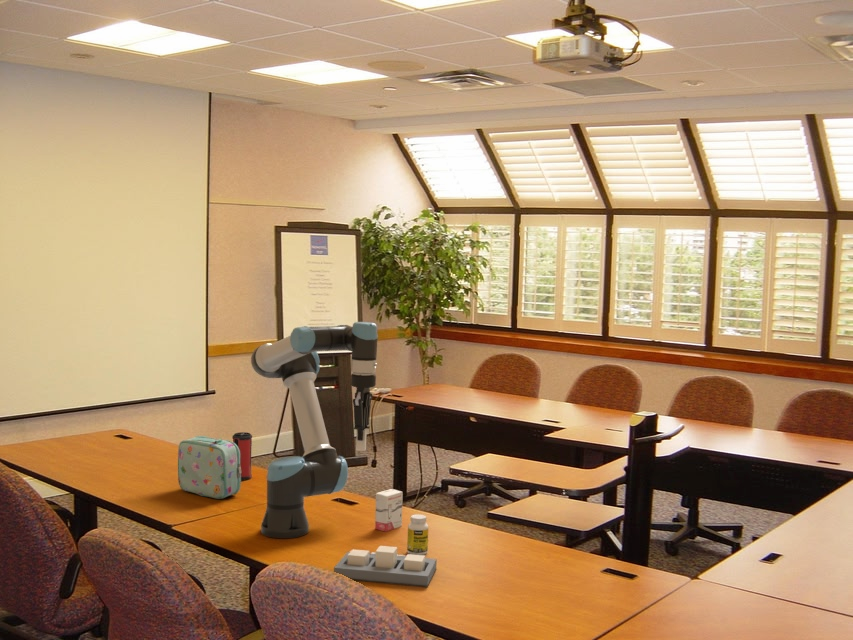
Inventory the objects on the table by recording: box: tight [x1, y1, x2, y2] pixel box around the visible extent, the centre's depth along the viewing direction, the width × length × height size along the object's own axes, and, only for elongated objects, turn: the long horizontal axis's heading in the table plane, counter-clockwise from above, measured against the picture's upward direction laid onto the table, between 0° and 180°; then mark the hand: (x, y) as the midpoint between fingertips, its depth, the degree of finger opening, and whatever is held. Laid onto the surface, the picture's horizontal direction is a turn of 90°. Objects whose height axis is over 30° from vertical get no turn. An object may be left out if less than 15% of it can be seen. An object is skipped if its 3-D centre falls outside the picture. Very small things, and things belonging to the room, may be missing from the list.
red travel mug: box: [231, 431, 253, 481], centre depth 340 cm, size 8×8×18 cm
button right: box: [404, 553, 426, 571], centre depth 236 cm, size 5×5×4 cm
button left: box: [347, 548, 370, 566], centre depth 239 cm, size 5×5×4 cm
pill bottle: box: [406, 514, 429, 556], centre depth 256 cm, size 6×6×11 cm
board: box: [333, 550, 437, 588], centre depth 238 cm, size 26×14×3 cm, turn 80°
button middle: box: [375, 545, 398, 568], centre depth 238 cm, size 5×5×4 cm
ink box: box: [374, 488, 404, 532], centre depth 281 cm, size 9×5×12 cm, turn 142°
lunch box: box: [177, 435, 242, 500], centre depth 316 cm, size 27×10×21 cm, turn 58°
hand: (361, 450), depth 260 cm, fingers closed
